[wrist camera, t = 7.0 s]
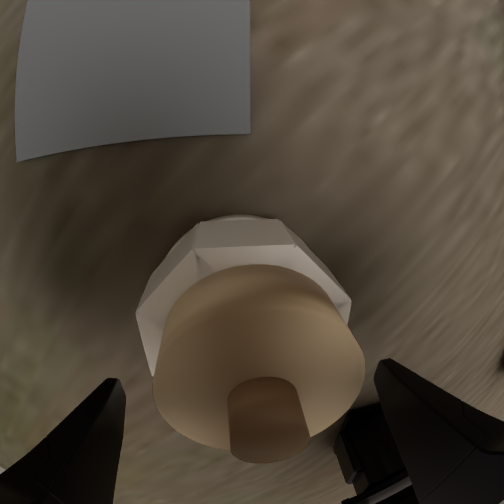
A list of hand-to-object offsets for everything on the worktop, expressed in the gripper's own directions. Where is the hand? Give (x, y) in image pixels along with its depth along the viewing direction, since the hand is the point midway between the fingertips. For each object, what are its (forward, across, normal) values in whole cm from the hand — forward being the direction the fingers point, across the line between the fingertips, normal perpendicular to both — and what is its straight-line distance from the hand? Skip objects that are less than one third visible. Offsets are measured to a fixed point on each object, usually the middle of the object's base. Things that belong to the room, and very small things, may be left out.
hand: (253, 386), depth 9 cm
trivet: (+6, +5, -13) cm, 15 cm away
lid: (+2, 0, 0) cm, 2 cm away
